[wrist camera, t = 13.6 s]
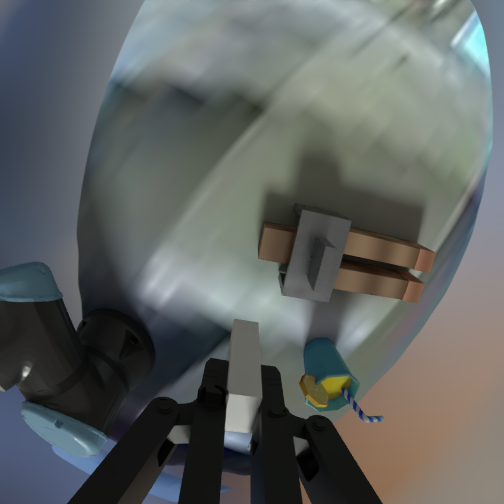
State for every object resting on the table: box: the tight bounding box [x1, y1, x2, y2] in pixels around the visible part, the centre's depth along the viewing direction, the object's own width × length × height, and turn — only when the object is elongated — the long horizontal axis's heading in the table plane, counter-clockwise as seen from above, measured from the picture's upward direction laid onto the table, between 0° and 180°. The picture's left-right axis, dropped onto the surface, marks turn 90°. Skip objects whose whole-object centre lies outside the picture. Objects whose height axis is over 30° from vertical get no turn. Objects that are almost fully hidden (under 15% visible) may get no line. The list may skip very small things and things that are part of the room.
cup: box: [299, 338, 384, 422], centre depth 36 cm, size 14×8×15 cm, turn 66°
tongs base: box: [258, 222, 425, 303], centre depth 36 cm, size 24×6×5 cm, turn 79°
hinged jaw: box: [343, 227, 436, 273], centre depth 35 cm, size 18×3×5 cm, turn 79°
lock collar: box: [278, 204, 352, 303], centre depth 33 cm, size 6×10×10 cm, turn 169°
